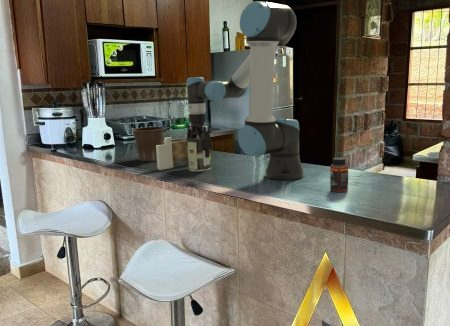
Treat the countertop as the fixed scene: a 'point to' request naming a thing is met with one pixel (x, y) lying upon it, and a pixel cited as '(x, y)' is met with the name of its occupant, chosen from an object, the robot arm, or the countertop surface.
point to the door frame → (165, 154)
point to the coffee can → (196, 155)
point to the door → (179, 153)
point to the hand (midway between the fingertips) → (199, 163)
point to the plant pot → (148, 142)
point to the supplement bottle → (339, 175)
